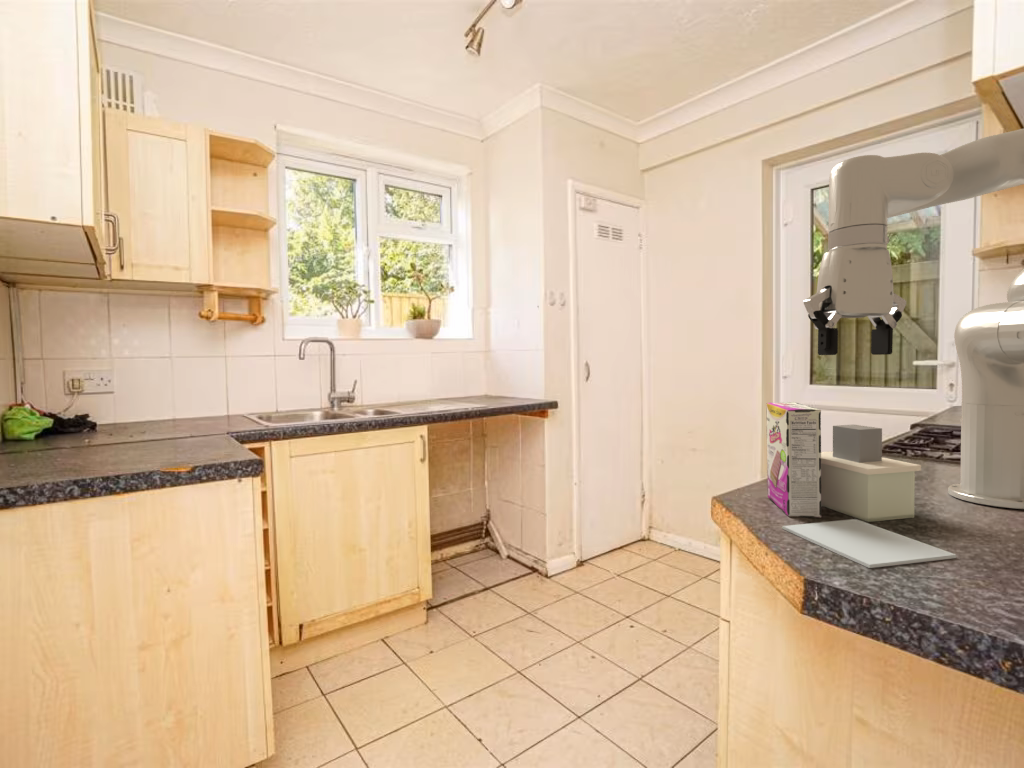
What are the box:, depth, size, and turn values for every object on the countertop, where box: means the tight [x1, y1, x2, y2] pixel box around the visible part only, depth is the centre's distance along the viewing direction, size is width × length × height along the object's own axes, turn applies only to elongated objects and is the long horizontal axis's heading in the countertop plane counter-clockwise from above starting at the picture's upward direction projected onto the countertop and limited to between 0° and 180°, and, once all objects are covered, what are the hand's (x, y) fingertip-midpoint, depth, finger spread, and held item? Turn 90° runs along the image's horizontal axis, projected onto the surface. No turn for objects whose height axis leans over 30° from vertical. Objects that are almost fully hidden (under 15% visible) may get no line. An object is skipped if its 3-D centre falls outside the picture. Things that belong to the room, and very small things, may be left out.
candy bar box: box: [765, 401, 822, 519], centre depth 81 cm, size 11×5×16 cm, turn 168°
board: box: [781, 518, 957, 569], centre depth 66 cm, size 12×14×1 cm
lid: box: [821, 424, 922, 475], centre depth 80 cm, size 9×13×7 cm
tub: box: [821, 463, 916, 523], centre depth 80 cm, size 8×12×7 cm, turn 11°
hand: (854, 354), depth 79 cm, fingers open, 9 cm apart
